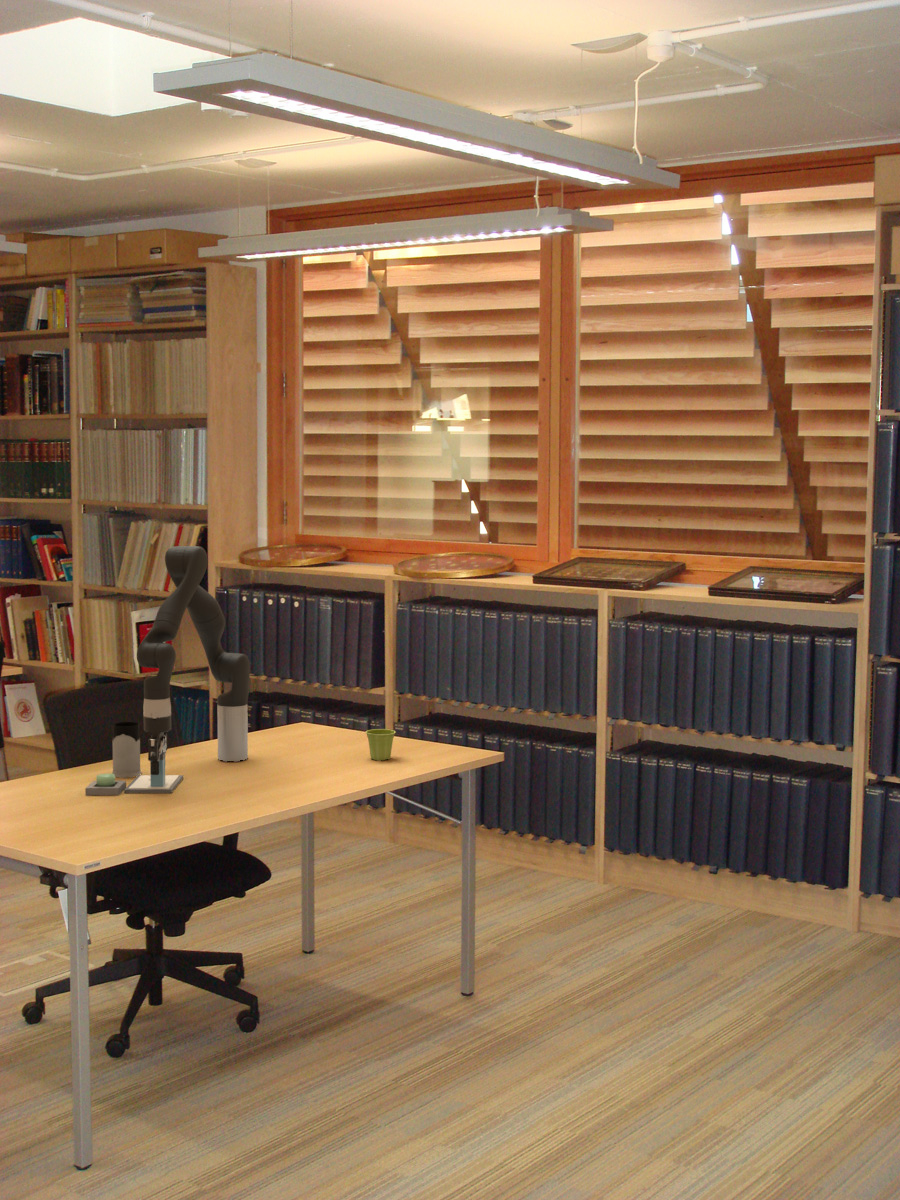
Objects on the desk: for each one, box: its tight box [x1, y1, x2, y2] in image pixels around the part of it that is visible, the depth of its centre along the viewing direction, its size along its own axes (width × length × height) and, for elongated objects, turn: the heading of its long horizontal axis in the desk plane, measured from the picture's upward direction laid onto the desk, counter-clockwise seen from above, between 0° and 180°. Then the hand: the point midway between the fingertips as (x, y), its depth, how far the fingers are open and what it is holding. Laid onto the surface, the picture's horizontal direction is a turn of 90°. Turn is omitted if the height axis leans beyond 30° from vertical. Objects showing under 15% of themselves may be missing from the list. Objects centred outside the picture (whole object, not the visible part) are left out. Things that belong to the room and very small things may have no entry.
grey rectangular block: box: [149, 752, 166, 787], centre depth 358 cm, size 4×4×9 cm
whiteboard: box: [123, 774, 184, 794], centre depth 364 cm, size 18×13×1 cm
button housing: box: [84, 780, 127, 796], centre depth 356 cm, size 9×9×2 cm
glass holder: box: [111, 721, 143, 779], centre depth 380 cm, size 9×14×15 cm, turn 1°
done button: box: [95, 773, 116, 786], centre depth 356 cm, size 5×5×2 cm
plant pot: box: [365, 728, 396, 761], centre depth 402 cm, size 9×9×9 cm
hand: (158, 771), depth 359 cm, fingers open, 8 cm apart
